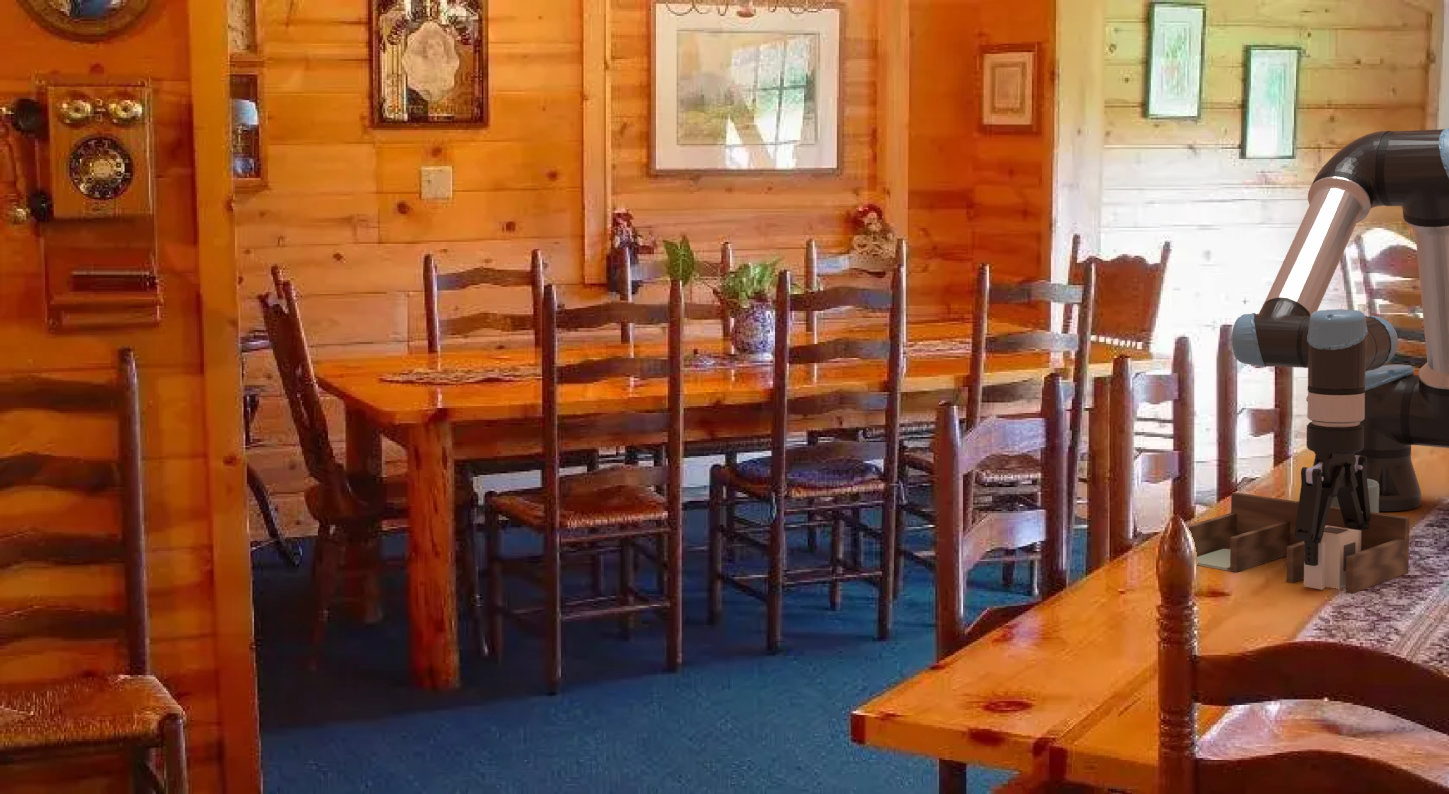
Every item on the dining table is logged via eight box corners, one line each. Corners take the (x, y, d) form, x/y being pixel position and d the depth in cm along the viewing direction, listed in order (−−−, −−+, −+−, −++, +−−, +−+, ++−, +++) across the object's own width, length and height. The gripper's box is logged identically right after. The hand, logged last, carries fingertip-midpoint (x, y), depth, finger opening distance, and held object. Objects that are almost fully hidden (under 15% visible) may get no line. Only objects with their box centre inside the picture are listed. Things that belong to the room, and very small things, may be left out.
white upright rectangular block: (1324, 576, 249) (1325, 524, 248) (1358, 582, 245) (1359, 529, 244) (1306, 583, 246) (1307, 530, 245) (1339, 589, 242) (1340, 535, 241)
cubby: (1235, 543, 270) (1235, 492, 269) (1408, 572, 250) (1409, 517, 249) (1176, 561, 260) (1177, 508, 259) (1352, 593, 239) (1353, 536, 238)
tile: (1223, 551, 266) (1223, 548, 266) (1264, 558, 260) (1264, 555, 260) (1185, 563, 259) (1185, 560, 259) (1227, 570, 254) (1227, 568, 254)
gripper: (1350, 410, 252) (1347, 562, 255) (1268, 429, 238) (1266, 591, 241) (1400, 414, 247) (1396, 571, 250) (1319, 435, 232) (1316, 600, 235)
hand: (1332, 580), depth 245 cm, fingers open, 9 cm apart
